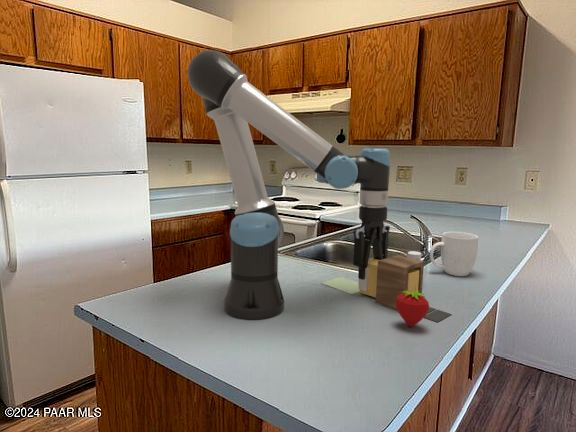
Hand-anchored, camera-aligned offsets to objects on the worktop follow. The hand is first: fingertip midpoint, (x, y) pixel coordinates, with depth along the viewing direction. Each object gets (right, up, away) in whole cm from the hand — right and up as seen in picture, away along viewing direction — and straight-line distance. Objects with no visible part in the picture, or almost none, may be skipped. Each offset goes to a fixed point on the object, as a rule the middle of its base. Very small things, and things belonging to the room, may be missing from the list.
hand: (369, 287), depth 113 cm
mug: (+32, +1, +20) cm, 38 cm away
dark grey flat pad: (+12, -4, -13) cm, 18 cm away
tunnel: (+6, -3, -7) cm, 10 cm away
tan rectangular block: (+4, -2, -4) cm, 6 cm away
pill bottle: (+15, -1, +9) cm, 17 cm away
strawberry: (+5, -6, -21) cm, 22 cm away
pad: (-6, -1, +7) cm, 9 cm away
